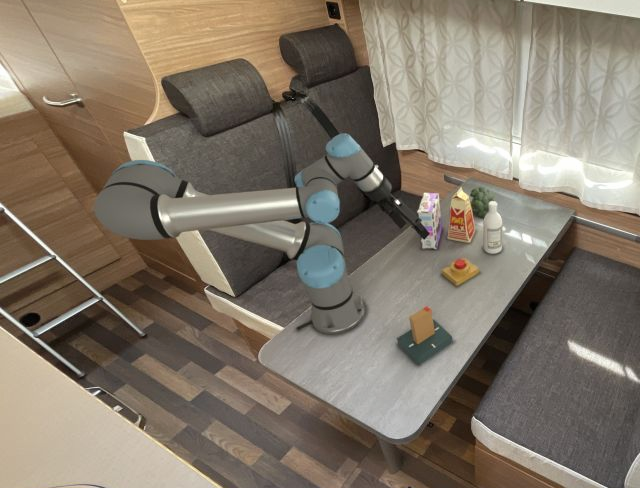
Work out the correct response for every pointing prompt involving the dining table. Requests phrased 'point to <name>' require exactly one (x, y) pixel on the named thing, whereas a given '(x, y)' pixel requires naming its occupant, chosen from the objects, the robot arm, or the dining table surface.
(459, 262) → the button
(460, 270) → the button box
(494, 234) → the bath foam
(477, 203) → the vegetable
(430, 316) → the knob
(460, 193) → the milk carton
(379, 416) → the dining table surface
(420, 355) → the panel
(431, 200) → the candy box
